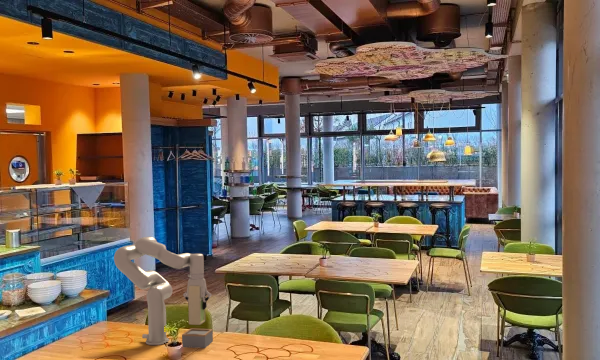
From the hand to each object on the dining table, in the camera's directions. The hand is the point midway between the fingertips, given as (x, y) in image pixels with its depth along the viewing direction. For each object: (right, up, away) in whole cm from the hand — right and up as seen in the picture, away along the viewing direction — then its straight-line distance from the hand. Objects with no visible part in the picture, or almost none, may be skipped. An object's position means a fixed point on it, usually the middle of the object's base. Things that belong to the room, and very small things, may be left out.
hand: (197, 308), depth 283 cm
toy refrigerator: (0, -8, 0) cm, 8 cm away
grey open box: (0, -19, 0) cm, 19 cm away
